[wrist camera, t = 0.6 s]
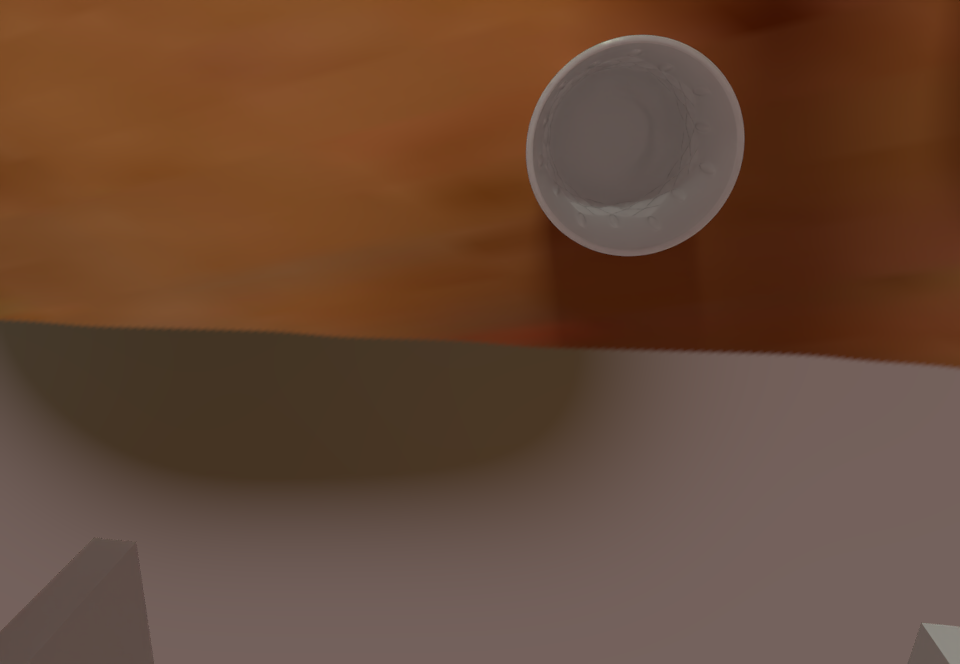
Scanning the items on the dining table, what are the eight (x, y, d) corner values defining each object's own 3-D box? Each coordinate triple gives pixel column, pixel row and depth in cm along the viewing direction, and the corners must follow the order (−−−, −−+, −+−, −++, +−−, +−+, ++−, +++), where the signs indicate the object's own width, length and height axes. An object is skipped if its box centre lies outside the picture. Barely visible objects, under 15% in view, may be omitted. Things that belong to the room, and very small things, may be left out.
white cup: (565, 235, 37) (571, 286, 27) (507, 90, 35) (492, 92, 25) (712, 176, 35) (772, 208, 26) (660, 20, 33) (705, -6, 24)
